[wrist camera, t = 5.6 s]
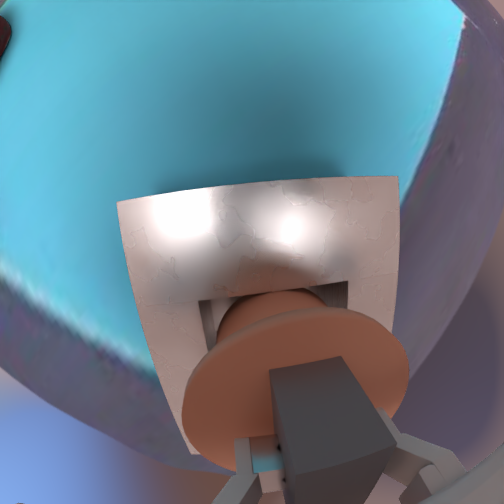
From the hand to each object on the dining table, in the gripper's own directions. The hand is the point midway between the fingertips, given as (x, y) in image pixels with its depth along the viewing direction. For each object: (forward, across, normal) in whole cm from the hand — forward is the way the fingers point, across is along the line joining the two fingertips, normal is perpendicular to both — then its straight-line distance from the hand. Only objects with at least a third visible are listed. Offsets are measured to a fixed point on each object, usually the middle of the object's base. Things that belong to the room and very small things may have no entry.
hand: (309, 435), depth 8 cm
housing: (+13, 0, 0) cm, 13 cm away
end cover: (+7, 0, 0) cm, 7 cm away
